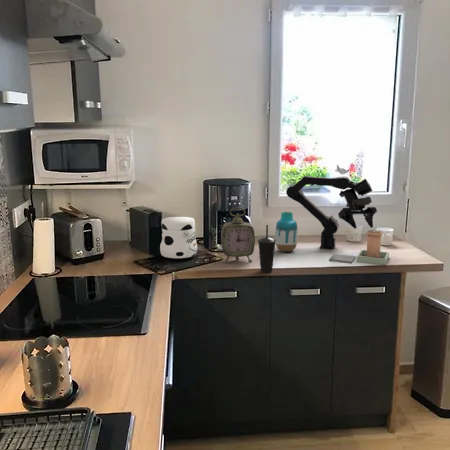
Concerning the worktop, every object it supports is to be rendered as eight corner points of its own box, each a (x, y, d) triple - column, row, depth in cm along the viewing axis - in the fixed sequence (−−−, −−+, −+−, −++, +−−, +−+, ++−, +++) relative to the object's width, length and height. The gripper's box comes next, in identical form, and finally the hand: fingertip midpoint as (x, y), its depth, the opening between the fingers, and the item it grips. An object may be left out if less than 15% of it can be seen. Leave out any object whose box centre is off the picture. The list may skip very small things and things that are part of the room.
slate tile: (329, 260, 230) (329, 259, 230) (333, 255, 239) (333, 253, 239) (351, 263, 226) (351, 261, 226) (355, 257, 235) (355, 256, 235)
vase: (272, 252, 245) (273, 213, 241) (278, 247, 254) (279, 210, 250) (293, 254, 241) (294, 215, 237) (299, 249, 250) (300, 211, 246)
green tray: (356, 261, 229) (356, 256, 229) (361, 254, 240) (361, 249, 240) (385, 264, 224) (385, 259, 224) (388, 257, 235) (389, 252, 235)
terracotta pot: (363, 260, 231) (365, 232, 228) (366, 256, 237) (367, 229, 234) (379, 262, 228) (381, 234, 225) (381, 258, 234) (383, 230, 231)
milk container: (202, 259, 233) (202, 221, 229) (166, 264, 226) (165, 224, 223) (190, 251, 249) (189, 215, 245) (156, 254, 242) (154, 217, 238)
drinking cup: (277, 269, 218) (278, 223, 214) (273, 274, 211) (273, 227, 207) (260, 267, 220) (260, 222, 216) (255, 272, 213) (255, 226, 209)
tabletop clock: (222, 264, 225) (222, 209, 220) (220, 259, 234) (220, 205, 229) (254, 263, 226) (255, 208, 221) (252, 258, 235) (252, 205, 230)
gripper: (344, 190, 234) (356, 219, 227) (377, 190, 241) (389, 217, 234) (333, 204, 243) (344, 232, 236) (364, 203, 250) (376, 230, 243)
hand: (364, 227), depth 237 cm, fingers open, 9 cm apart
